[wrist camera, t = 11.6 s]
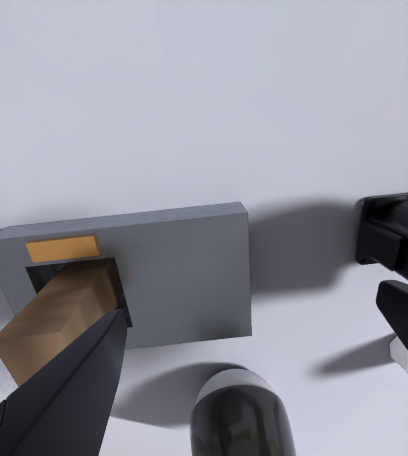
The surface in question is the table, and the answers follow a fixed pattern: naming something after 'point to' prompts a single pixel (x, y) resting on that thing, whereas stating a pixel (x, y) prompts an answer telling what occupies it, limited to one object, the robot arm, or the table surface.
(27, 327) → the walnut peg
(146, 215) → the grey peg hole board
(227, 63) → the table surface
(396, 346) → the pepper shaker
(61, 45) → the table surface
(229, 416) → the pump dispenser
